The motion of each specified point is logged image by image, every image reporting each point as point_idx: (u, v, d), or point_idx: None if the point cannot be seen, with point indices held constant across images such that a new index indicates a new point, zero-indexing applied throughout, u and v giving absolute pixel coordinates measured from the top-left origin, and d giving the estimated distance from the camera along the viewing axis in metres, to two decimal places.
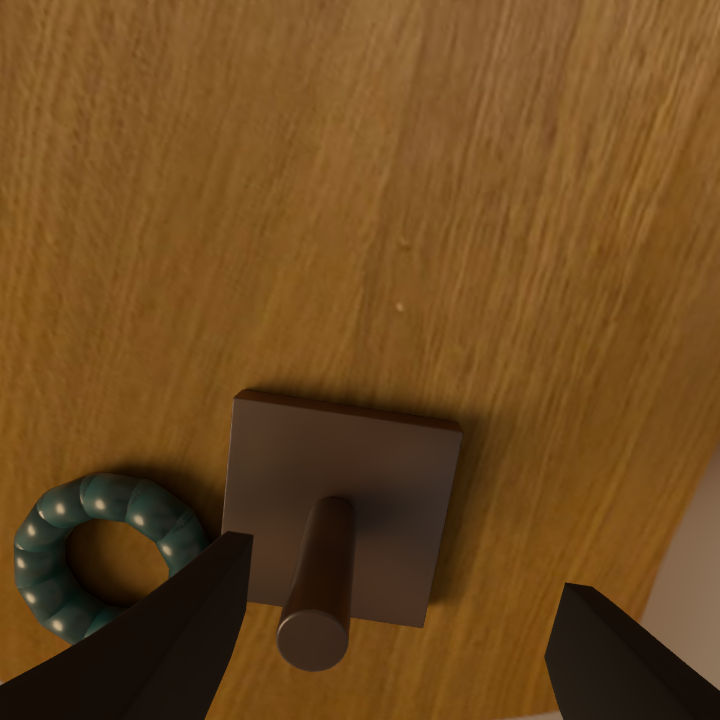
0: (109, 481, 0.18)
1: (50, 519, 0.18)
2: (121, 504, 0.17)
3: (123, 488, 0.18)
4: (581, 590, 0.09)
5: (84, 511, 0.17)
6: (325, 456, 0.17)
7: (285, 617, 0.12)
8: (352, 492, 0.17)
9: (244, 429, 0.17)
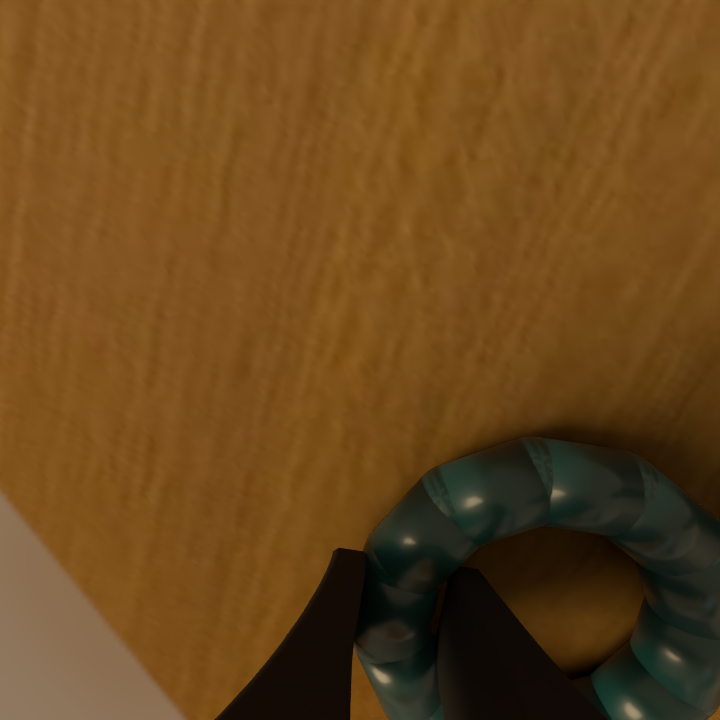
0: (580, 452, 0.09)
1: (472, 528, 0.09)
2: (629, 498, 0.08)
3: (617, 466, 0.09)
4: (463, 572, 0.09)
5: (547, 513, 0.08)
6: None
7: None
8: None
9: None
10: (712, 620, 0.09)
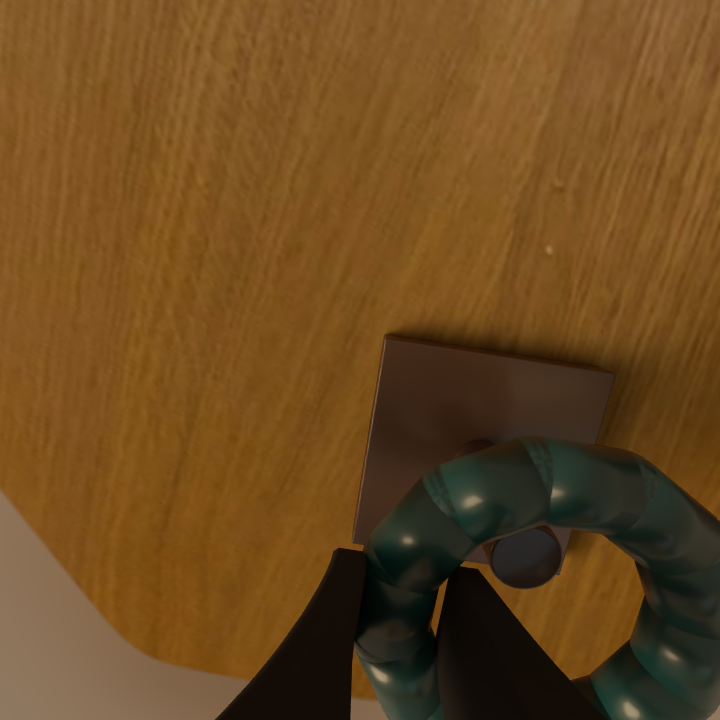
0: (581, 451, 0.09)
1: (472, 527, 0.09)
2: (630, 498, 0.08)
3: (617, 465, 0.09)
4: (463, 572, 0.09)
5: (547, 512, 0.08)
6: (474, 398, 0.17)
7: None
8: (498, 435, 0.17)
9: (394, 371, 0.17)
10: (712, 620, 0.09)
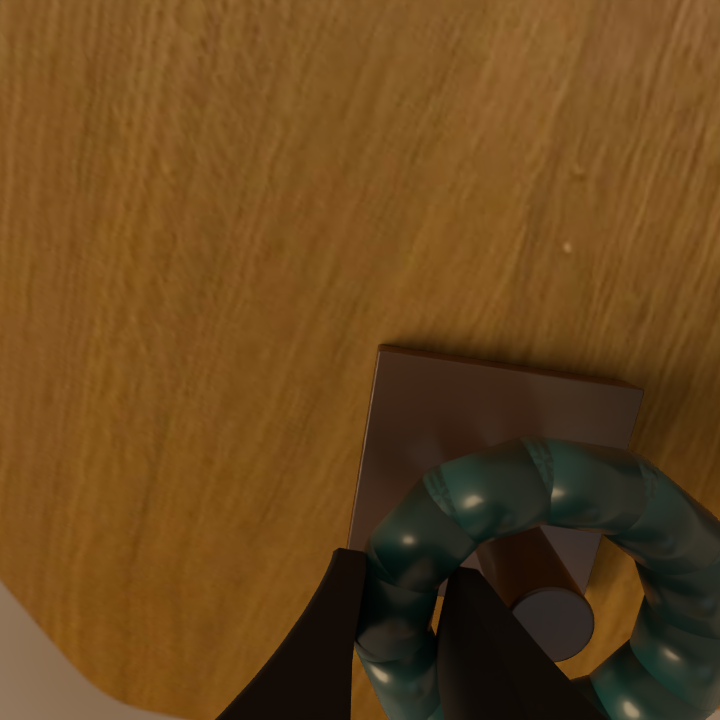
0: (581, 451, 0.09)
1: (473, 527, 0.09)
2: (630, 497, 0.08)
3: (617, 465, 0.09)
4: (463, 572, 0.09)
5: (547, 512, 0.08)
6: (481, 419, 0.15)
7: (519, 595, 0.10)
8: None
9: (389, 387, 0.15)
10: (712, 619, 0.09)
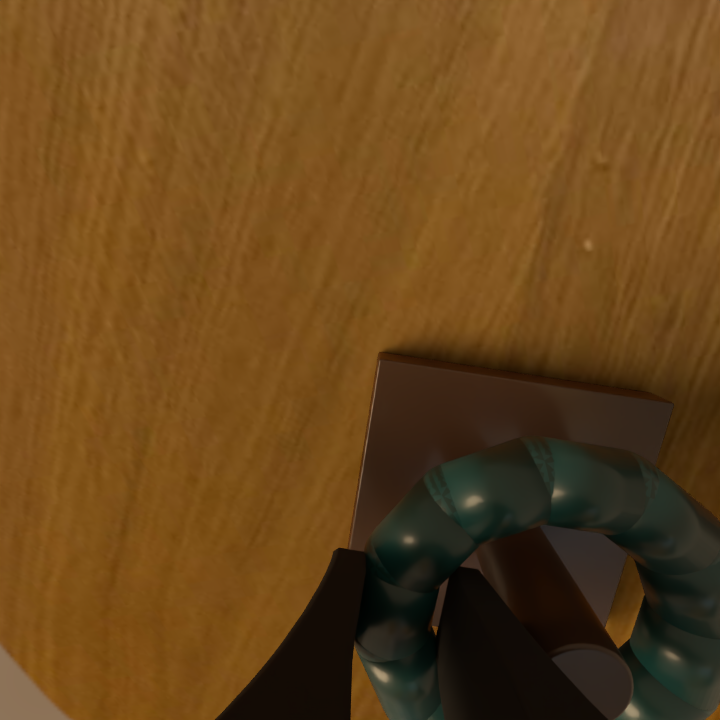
0: (582, 451, 0.09)
1: (473, 527, 0.09)
2: (630, 498, 0.08)
3: (618, 465, 0.09)
4: (463, 572, 0.09)
5: (548, 512, 0.08)
6: (492, 435, 0.14)
7: None
8: None
9: (391, 400, 0.13)
10: (712, 619, 0.09)
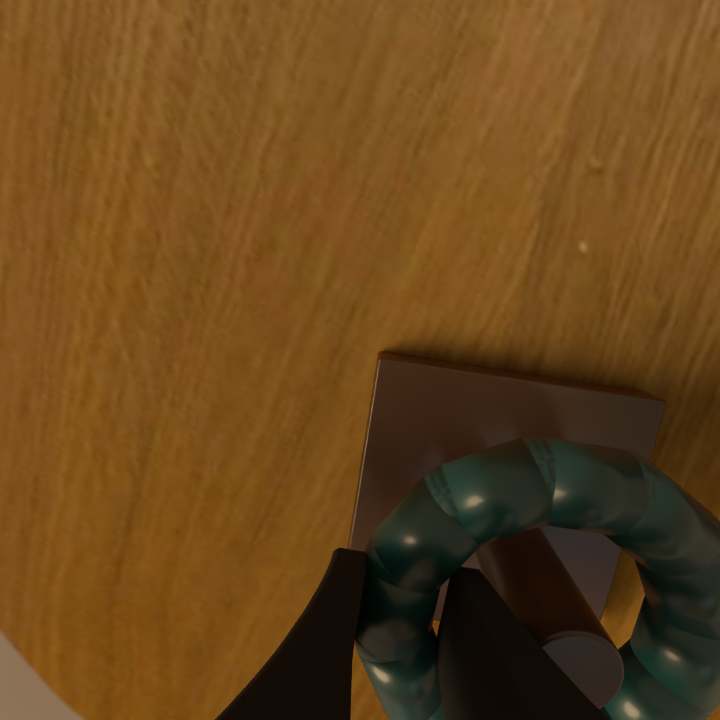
0: (583, 452, 0.09)
1: (474, 527, 0.09)
2: (631, 498, 0.08)
3: (619, 466, 0.09)
4: (464, 572, 0.09)
5: (549, 512, 0.08)
6: (490, 432, 0.14)
7: (538, 640, 0.08)
8: None
9: (390, 398, 0.14)
10: (712, 620, 0.09)
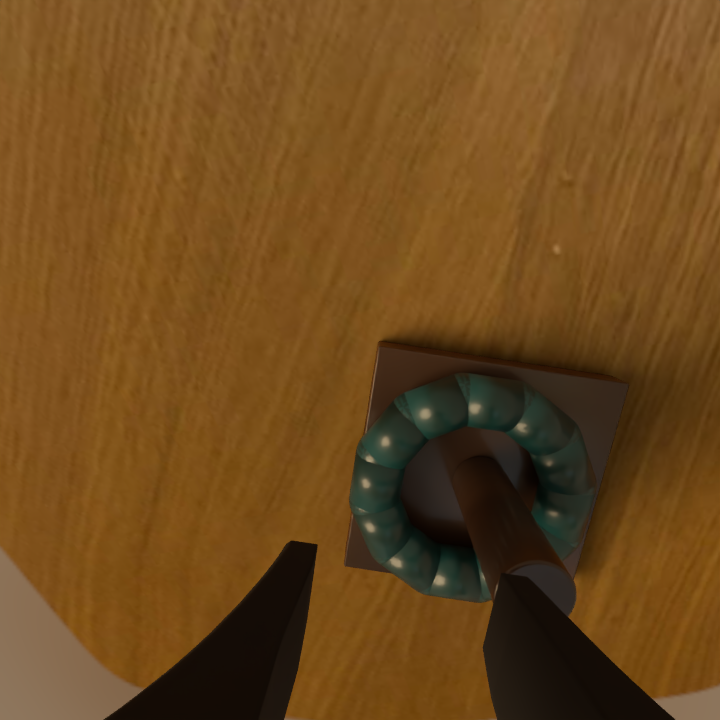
0: (489, 380, 0.14)
1: (422, 425, 0.14)
2: (515, 405, 0.14)
3: (510, 387, 0.14)
4: (515, 580, 0.09)
5: (467, 414, 0.14)
6: None
7: (507, 568, 0.10)
8: (502, 451, 0.16)
9: (388, 381, 0.16)
10: (570, 482, 0.14)
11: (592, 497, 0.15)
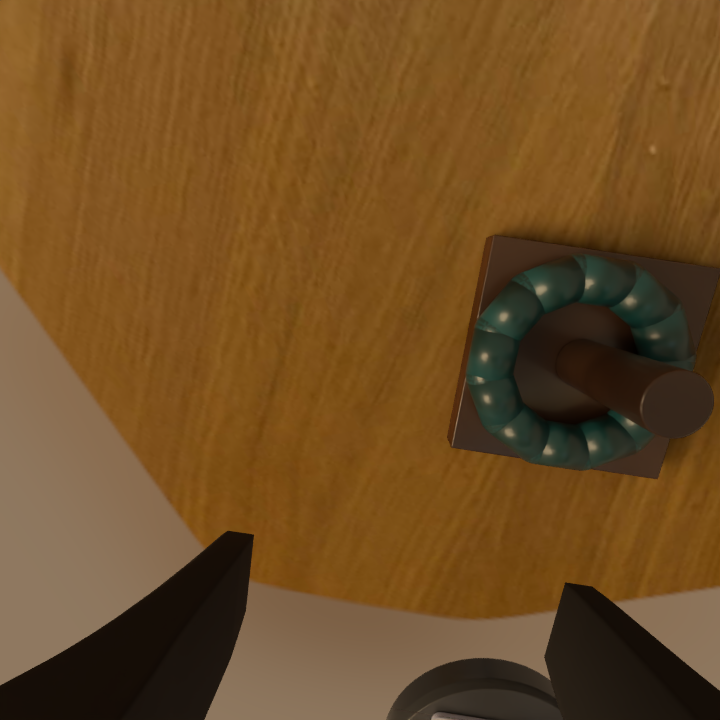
0: (601, 256, 0.16)
1: (542, 295, 0.16)
2: (628, 276, 0.16)
3: (621, 262, 0.16)
4: (581, 590, 0.09)
5: (583, 285, 0.16)
6: None
7: (653, 379, 0.12)
8: (602, 334, 0.18)
9: (501, 268, 0.17)
10: (674, 349, 0.16)
11: (693, 364, 0.16)
